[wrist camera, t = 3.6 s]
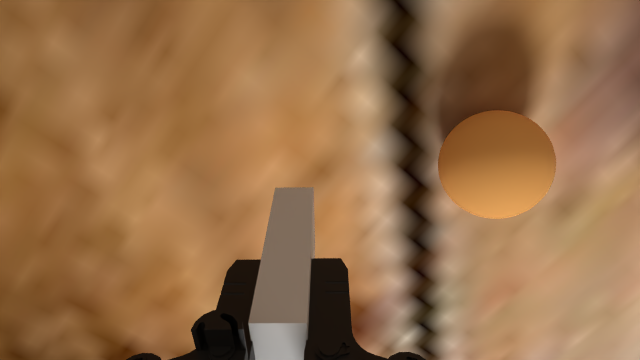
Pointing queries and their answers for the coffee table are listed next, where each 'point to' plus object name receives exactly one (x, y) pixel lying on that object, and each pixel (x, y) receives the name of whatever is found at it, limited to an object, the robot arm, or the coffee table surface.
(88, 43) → the coffee table surface
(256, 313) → the robot arm
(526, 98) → the coffee table surface
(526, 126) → the ball
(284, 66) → the coffee table surface
